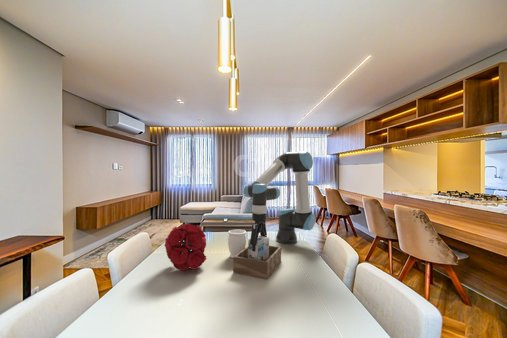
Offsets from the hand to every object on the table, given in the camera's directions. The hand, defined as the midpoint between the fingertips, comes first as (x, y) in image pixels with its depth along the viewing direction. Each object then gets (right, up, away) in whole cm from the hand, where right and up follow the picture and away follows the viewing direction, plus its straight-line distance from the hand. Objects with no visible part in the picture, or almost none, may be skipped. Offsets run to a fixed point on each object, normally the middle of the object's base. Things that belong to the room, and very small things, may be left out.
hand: (258, 253), depth 125 cm
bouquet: (-37, -7, 0) cm, 38 cm away
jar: (-13, -7, +14) cm, 20 cm away
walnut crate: (0, -7, 0) cm, 7 cm away
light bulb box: (0, -3, 0) cm, 3 cm away
